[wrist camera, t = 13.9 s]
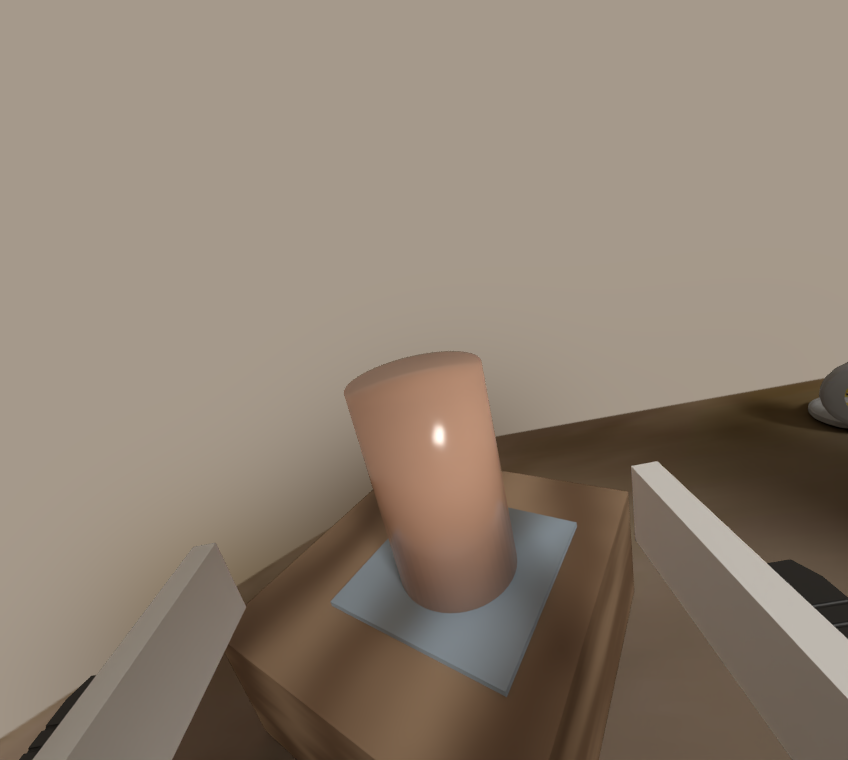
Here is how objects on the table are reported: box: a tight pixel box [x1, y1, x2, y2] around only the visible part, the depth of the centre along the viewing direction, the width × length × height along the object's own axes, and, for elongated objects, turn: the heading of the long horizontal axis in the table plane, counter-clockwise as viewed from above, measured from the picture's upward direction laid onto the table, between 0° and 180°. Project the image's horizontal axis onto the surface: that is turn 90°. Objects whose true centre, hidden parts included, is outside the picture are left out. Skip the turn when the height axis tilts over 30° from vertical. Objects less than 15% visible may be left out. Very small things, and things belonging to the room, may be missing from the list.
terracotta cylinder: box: [344, 351, 517, 613], centre depth 20 cm, size 6×6×11 cm
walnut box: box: [225, 471, 634, 760], centre depth 24 cm, size 17×18×8 cm
